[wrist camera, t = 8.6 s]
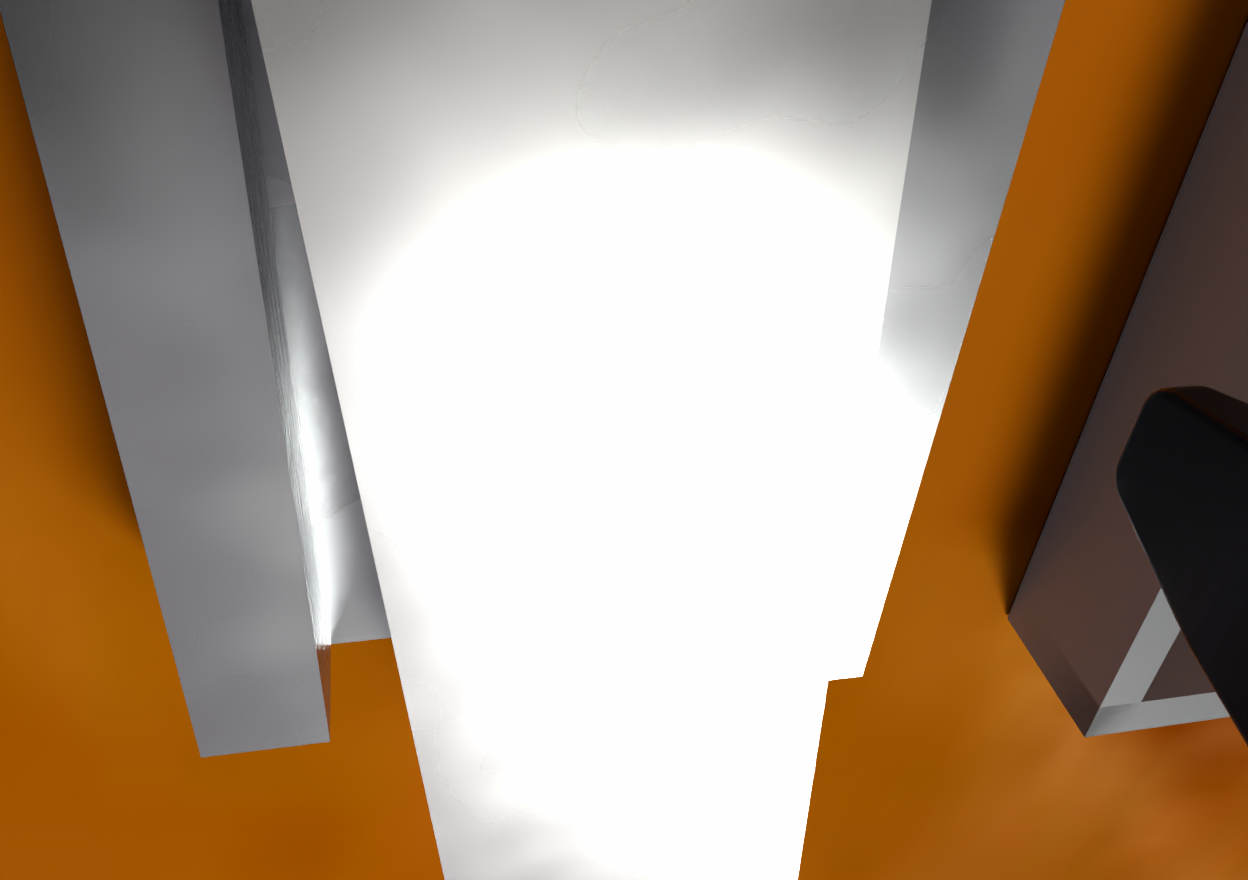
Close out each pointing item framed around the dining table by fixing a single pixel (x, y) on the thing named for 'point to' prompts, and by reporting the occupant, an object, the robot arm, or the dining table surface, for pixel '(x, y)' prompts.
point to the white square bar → (604, 393)
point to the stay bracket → (297, 350)
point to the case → (1087, 499)
